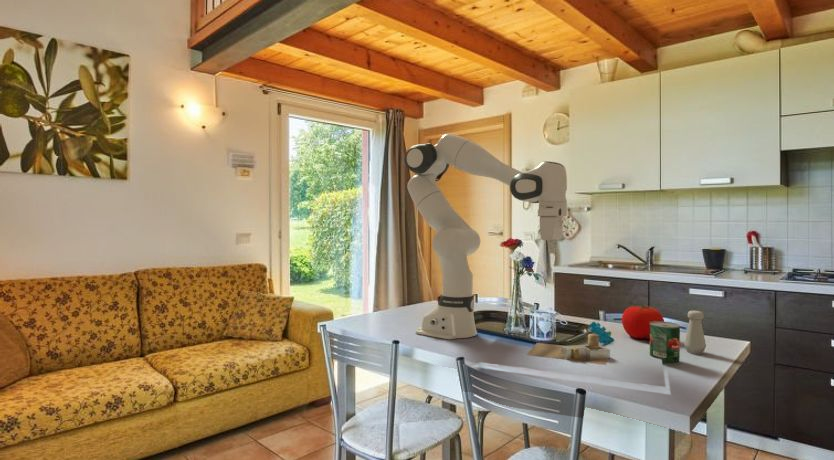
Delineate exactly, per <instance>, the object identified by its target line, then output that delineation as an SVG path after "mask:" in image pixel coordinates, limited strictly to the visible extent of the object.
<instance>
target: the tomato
mask: <svg viewBox="0 0 834 460" xmlns="http://www.w3.org/2000/svg"><path fill="white" fill-rule="evenodd" d="M654 321H663V322H665V319H664V317H663V315H662V314H661V312H660V311H659V310H658V309H656V308H654V307H652V306H648V305H644V304H642V305H634V306H628V308H625V310H624V311H623V314H622V315H621V324H622V327H623V329H624V331H625V333H627V335H629V337H631V338H634V339H639V340H642V339H644V340H645V339H650V322H654Z"/></svg>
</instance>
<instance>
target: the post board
mask: <svg viewBox="0 0 834 460" xmlns="http://www.w3.org/2000/svg"><path fill="white" fill-rule="evenodd" d="M587 344H588V348H589V349H591V350H593V349H599V345H600V342H599V335H597V334H594V333H589V334H587ZM561 346H563V345H560V344H554V343H553V344H552V343H551V344H550V343H543V342H536V343H535V344H534V346H532V348H531V349H530V350H529V352H527V354H526V356H533V357H539V358H548V359H550V358H551V359H557V360H564V361H565V360H566V361H573V362H582V363H588V364H589V363H590V364H597V365H607V362H608V358H605V359H592V360H590V359H588V358H579V349H573V359H565V358H563V357H561Z"/></svg>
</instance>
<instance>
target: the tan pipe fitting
mask: <svg viewBox="0 0 834 460" xmlns="http://www.w3.org/2000/svg"><path fill="white" fill-rule="evenodd" d="M573 349H579V358H588V359H590V360H592V359H605V358H607V359H611V349H610V348H607V347H605V346H603V345H600V344H599V349H593V350H591V349H589V348H588V343H587V344H578V345H575V344H574V345H562V346H561V357H563V358H565V359H573Z"/></svg>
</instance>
